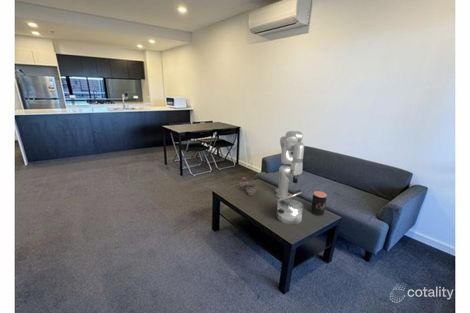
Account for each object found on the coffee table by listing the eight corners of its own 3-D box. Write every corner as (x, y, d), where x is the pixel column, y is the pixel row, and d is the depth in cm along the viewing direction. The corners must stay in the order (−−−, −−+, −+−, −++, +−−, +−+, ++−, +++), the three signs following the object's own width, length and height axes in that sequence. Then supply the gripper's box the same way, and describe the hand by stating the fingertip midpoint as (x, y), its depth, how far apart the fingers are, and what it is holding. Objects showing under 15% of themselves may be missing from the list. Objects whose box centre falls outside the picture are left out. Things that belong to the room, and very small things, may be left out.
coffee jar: (314, 216, 186) (317, 197, 181) (308, 210, 196) (311, 191, 191) (326, 215, 188) (329, 196, 183) (319, 209, 198) (322, 190, 193)
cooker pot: (268, 216, 183) (269, 203, 180) (288, 208, 198) (290, 195, 195) (288, 229, 167) (290, 214, 164) (308, 218, 183) (310, 205, 179)
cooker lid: (272, 203, 181) (270, 199, 181) (288, 196, 193) (287, 193, 194) (290, 197, 164) (289, 193, 165) (307, 190, 177) (305, 187, 177)
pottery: (245, 186, 243) (245, 175, 239) (259, 195, 222) (259, 184, 219) (236, 187, 237) (236, 177, 234) (249, 197, 216) (250, 186, 213)
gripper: (299, 157, 175) (297, 179, 179) (287, 160, 166) (284, 183, 171) (307, 159, 169) (304, 182, 174) (295, 162, 160) (292, 186, 165)
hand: (295, 182), depth 172 cm, fingers closed
